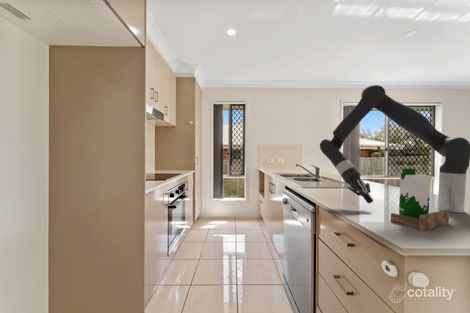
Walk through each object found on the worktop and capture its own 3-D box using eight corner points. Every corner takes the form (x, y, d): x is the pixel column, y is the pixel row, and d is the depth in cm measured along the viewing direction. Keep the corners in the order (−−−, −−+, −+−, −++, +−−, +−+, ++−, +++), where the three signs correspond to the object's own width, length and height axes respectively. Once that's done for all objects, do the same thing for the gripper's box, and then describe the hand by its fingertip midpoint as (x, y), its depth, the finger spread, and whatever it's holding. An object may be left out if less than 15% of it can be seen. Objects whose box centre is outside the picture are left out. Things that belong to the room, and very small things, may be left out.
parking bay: (413, 216, 104) (414, 204, 104) (448, 224, 94) (449, 210, 93) (387, 221, 95) (388, 208, 95) (422, 230, 85) (423, 216, 85)
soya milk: (395, 217, 102) (397, 167, 101) (421, 219, 99) (424, 168, 98) (403, 223, 93) (406, 169, 92) (432, 225, 91) (435, 170, 90)
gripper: (343, 166, 115) (367, 198, 105) (361, 166, 121) (386, 196, 111) (333, 177, 120) (355, 208, 110) (351, 176, 126) (374, 205, 116)
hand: (371, 202), depth 110 cm, fingers closed
